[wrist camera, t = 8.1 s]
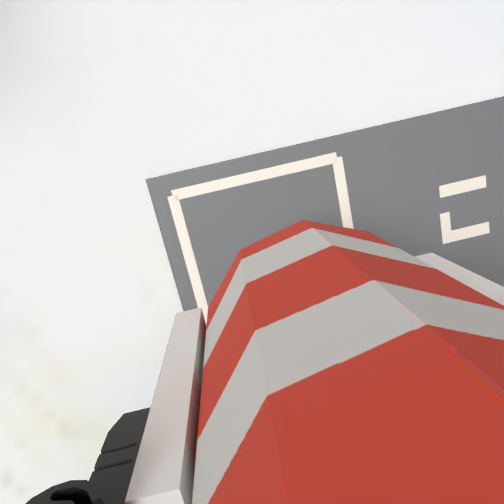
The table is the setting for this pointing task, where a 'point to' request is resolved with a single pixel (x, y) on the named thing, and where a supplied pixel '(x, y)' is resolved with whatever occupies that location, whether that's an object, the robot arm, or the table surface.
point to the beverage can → (348, 378)
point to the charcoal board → (346, 196)
